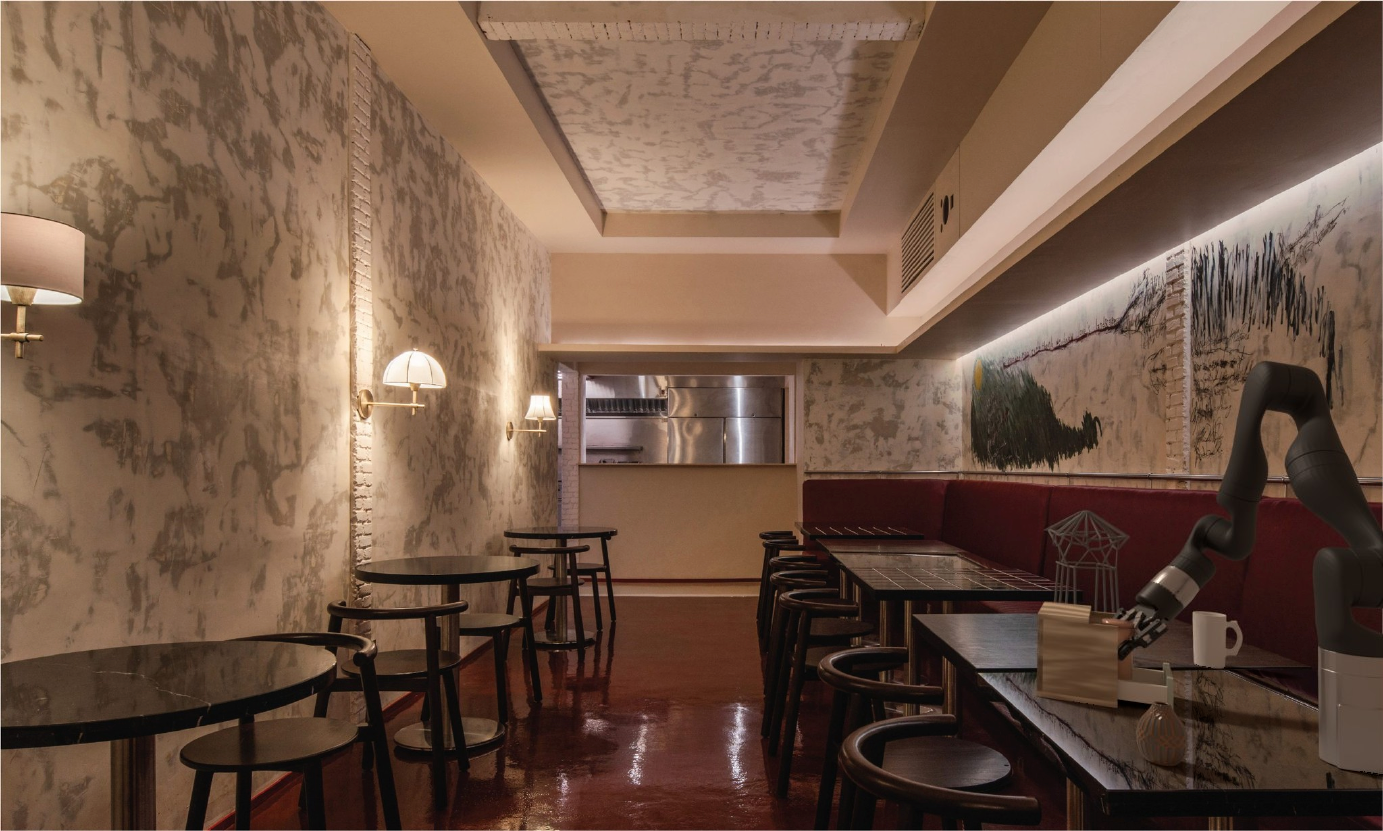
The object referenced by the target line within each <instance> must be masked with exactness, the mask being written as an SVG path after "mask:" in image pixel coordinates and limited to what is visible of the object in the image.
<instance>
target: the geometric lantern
mask: <svg viewBox="0 0 1383 831" xmlns="http://www.w3.org/2000/svg"><path fill="white" fill-rule="evenodd" d="M1083 521H1084V530H1078V529H1079V527H1080V525H1081V524H1082V522H1083ZM1089 521H1090V522H1091V524H1092V526H1093V528H1094V530H1091V531H1089ZM1096 524H1097V525H1096ZM1098 525H1099V527H1100V528H1101V529H1102V530H1100V529H1099V528H1098ZM1061 526H1062V527H1061ZM1059 527H1060V528H1059ZM1057 528H1059V529H1057ZM1071 530H1072V531H1071ZM1112 530H1113V531H1112ZM1043 531H1045V532H1046V531H1047V532H1048V533H1049V535H1050V537H1051V539H1052V546H1055V547H1058V548H1057V549H1058V557H1059V561H1057V560H1056V561H1055V563H1056V572H1055V574H1056V575H1055V588H1054V598H1053V599H1054V600H1053V602H1054V603H1062V597H1063V589H1064V588H1063V587H1064V586H1063V585H1064V577H1065V576H1064V575H1065V574H1064V573H1065V567H1066V568H1067V570H1066V584H1065V599H1064V600H1065V602H1064V604H1069V603H1068V601H1069V586H1070V570H1071V569H1073V604H1074V605H1077V569H1087V570H1089V569H1090V570H1095V590H1094V592H1095V595H1094V596H1095V597H1094V611H1096V612H1098V596H1099V594H1098V593H1099V592H1098V591H1099V570H1102V589H1103V612H1106V613H1108V612H1107V609H1108V608H1107V590H1106V589H1107V588H1106V587H1107V585H1106V584H1107V583H1106V570H1107V571H1109V582H1110V583H1109V584H1110V585H1109V586H1110V598H1111V600H1110V601H1111V613H1116V612H1117V611H1118V610H1119V609H1120V599H1119V596H1120V595H1119V581H1118V580H1119V578H1118V576H1119V575H1118V554H1119V550H1120V549H1121V548H1122V547H1123V546H1124V545H1125V543H1126V542H1127V541H1128V540H1129V539H1130V538H1131V536H1130V535H1128V534H1127V533H1125V532H1123V531H1122V530H1120V529H1119V528H1118V527H1116V526H1115V525H1112V524H1111V523H1110V522H1108V521H1107V520H1105V519H1103V518H1102V517H1100V516H1099V515H1097V514H1096V513H1094V512H1092V511H1091V510H1084V509H1083V510H1080V511H1078V512H1076V513H1074V514H1072V515H1070V516H1069V517H1066V518H1065V519H1064V518H1063V520H1060V521H1058V522H1057V523H1055V524H1052V525H1050V526H1049V527H1047V528H1045V529H1043ZM1115 532H1116V533H1117V534H1118V535H1117V534H1116V533H1115ZM1090 534H1095V535H1093V537H1089V535H1090ZM1101 534H1106V535H1107V536H1106V537H1105V536H1104V537H1102V535H1101ZM1067 536H1068V537H1071V538H1070V539H1069V538H1068V537H1067ZM1058 537H1060V541H1059V543H1058ZM1078 537H1080V538H1082V540H1081V539H1080V538H1078ZM1097 537H1098V538H1097ZM1073 538H1074V539H1075V540H1077V542H1075V541H1073V540H1074V539H1073ZM1064 540H1066V541H1067V542H1069V544H1068V546H1067V548H1066V550H1065V552H1063V550H1062V547H1061V546H1062V544H1063V542H1064ZM1085 540H1086V541H1085ZM1104 540H1109V543H1107V544H1106V545H1104V546H1102V541H1104ZM1092 541H1097V542H1098V543H1099V544H1098V545H1099V547H1090V544H1089V543H1091V542H1092ZM1121 541H1122V542H1121ZM1120 542H1121V543H1120ZM1116 543H1117V546H1116ZM1072 545H1076V546H1077V545H1078V546H1083V547H1085V548H1086V549H1087V550H1086V552H1085V553H1084V554H1083V556H1081V558H1080V559H1079V561H1067V558H1066V556H1067V554H1068V553H1069V550H1070V549H1071V547H1072ZM1108 547H1109V550H1108V551H1107V553H1106V554H1105V552H1104V549H1106V548H1108ZM1113 549H1114V550H1115V551H1116V552H1115V554H1116V555H1115V566H1111V564H1110V563H1109V560H1108V558H1109V555H1110V554H1111V552H1112V550H1113ZM1093 551H1101V554H1102V556H1103V560H1102V563H1101V562H1100V561H1099V560H1098V558H1097V557H1096V555H1095V554H1094V552H1093ZM1089 552H1090V553H1091V555H1092V556H1093V558H1094V559H1095V560H1096V562H1093V561H1092V562H1091V561H1082V560H1083V559H1084V557H1085V556H1086V555H1087V554H1088V553H1089ZM1061 557H1062V558H1061ZM1105 563H1106V564H1105ZM1069 564H1075V565H1069ZM1079 564H1082V565H1083V564H1089V565H1095V566H1091V567H1090V566H1080V565H1079ZM1060 565H1061V574H1060V572H1059V571H1060ZM1078 565H1079V566H1078ZM1099 566H1101V567H1099ZM1070 568H1071V569H1070ZM1113 571H1114V580H1115V582H1114V581H1113ZM1059 574H1060V584H1059ZM1113 583H1115V594H1114V584H1113ZM1058 586H1059V597H1058ZM1114 595H1115V596H1114ZM1057 599H1058V602H1057ZM1115 600H1116V609H1115ZM1115 610H1116V611H1115Z"/></svg>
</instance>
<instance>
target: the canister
mask: <svg viewBox="0 0 1383 831" xmlns="http://www.w3.org/2000/svg"><path fill="white" fill-rule="evenodd" d="M1102 624H1103V625H1112V626H1118V646H1119V645H1120V644H1121V643H1122V642H1123V641H1124V640H1127V637H1128V635H1129V634H1130V632H1131V628H1132V626H1133V624H1134V623H1133V622H1132V621H1128V620H1121V619H1102ZM1133 651H1134V650H1133ZM1133 651H1132V652H1131V653H1130V654H1129V655H1128V656H1127V657H1126V658H1125V659H1124V660H1123V661H1120V660H1118V679H1119V680H1131V679H1133V667H1134V665H1133V659H1134V658H1133V653H1134V652H1133Z"/></svg>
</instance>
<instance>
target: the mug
mask: <svg viewBox="0 0 1383 831" xmlns="http://www.w3.org/2000/svg"><path fill="white" fill-rule="evenodd" d="M1228 628H1232V629H1233V630H1234V632H1235V633H1236V643H1235V644H1234V646H1233V647H1232V648H1227V645H1226V641H1227V639H1226V638H1227V635H1226V634H1227V629H1228ZM1192 632H1193V633H1192V634H1193V635H1192V640H1193V641H1192V642H1193V648H1192V649H1193V664H1194V665H1196V664H1197V665H1196V666H1198V665H1199V667H1202V666H1206V667H1205V668H1208V667H1211V668H1210V669H1225V668H1224V667H1226V657H1229V656H1232V657H1233V656H1234V657H1236V656H1237V655H1238V652H1239V650H1240V649H1241V646H1242V643H1243V632H1242V630H1241V627H1240V626H1239V624H1238V620H1230V621H1227V615H1226V614H1223V613H1219V612H1212V611H1201V610H1200V611H1198V610H1197V611H1193V612H1192Z"/></svg>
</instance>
